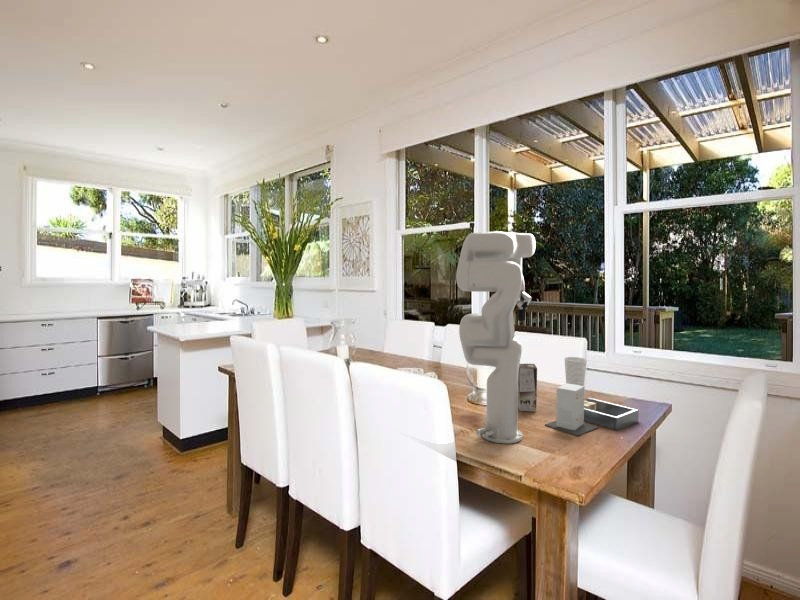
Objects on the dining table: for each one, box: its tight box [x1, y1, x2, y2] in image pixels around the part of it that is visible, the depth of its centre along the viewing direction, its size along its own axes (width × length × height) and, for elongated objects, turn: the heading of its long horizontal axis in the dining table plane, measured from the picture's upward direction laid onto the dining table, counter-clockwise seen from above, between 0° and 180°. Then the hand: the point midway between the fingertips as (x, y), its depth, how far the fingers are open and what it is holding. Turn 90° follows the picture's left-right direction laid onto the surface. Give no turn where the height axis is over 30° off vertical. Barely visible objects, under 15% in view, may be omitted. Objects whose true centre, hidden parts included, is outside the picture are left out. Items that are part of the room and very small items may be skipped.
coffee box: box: [518, 363, 538, 413], centre depth 167 cm, size 9×6×16 cm
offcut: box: [584, 402, 596, 411], centre depth 159 cm, size 6×2×4 cm, turn 126°
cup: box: [564, 356, 587, 387], centre depth 181 cm, size 8×8×16 cm
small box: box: [555, 382, 585, 430], centre depth 146 cm, size 8×6×13 cm
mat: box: [544, 420, 600, 437], centre depth 146 cm, size 12×12×1 cm
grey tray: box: [584, 397, 640, 431], centre depth 155 cm, size 14×18×4 cm
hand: (510, 319), depth 159 cm, fingers open, 9 cm apart
